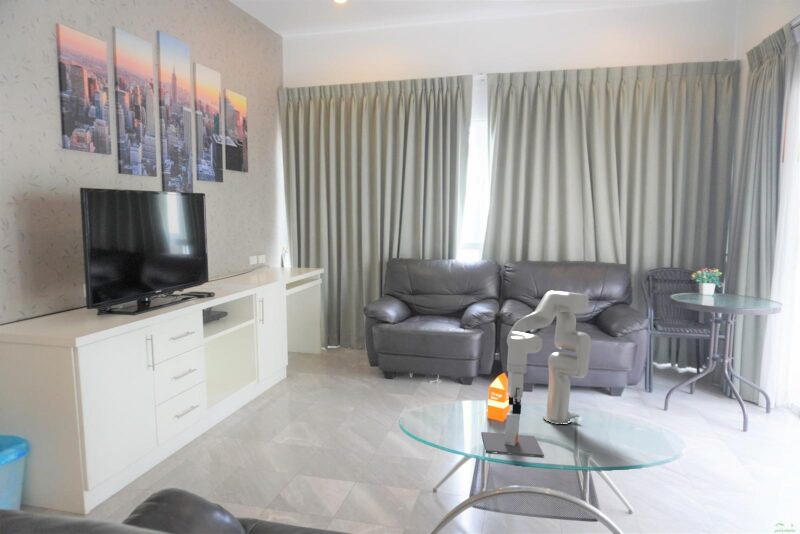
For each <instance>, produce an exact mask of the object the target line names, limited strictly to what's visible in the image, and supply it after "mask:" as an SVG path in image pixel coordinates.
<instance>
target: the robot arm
mask: <svg viewBox="0 0 800 534" xmlns="http://www.w3.org/2000/svg"><path fill="white" fill-rule="evenodd" d="M589 306H590V301H589V298H588V296H587V295H586V294H585V293H580V292H570V291H564V290H549V291H547V292H546V293H544V295H543V297H542V298H541V300H540V301H539V303H538V305H537V306H536V307H535V309H534V311H533V312H532V313H530V314H527V315H525V316H524V317H522V318H520V319H519V320H517V321H516V322H515V323H514V325H512V327H511V329H510V330H509V333H508V335H507V336H506V337H507V338H506V344H507V364H506V370H507V374H508V375H507V379H508V381H507V392H508V394H509V402H508V404H509V405H510V406H512V410H511V411H512V413H513V414H520V415H521V413H522V398H523V397H524V396H523V394H524V393H523V392H524V378H525V377H524V374H526V373H527V365H528V364H527V363H528V354H536V353H538V352H540V351H541V350H542V348H543V346H544V343H543V339H542V338H541V336H539V335H536V334H533V333H527V332H528V331H532V330H536V329H541V328H542V329H543V328H546V327H547V328H548V327H549V326H551V324H552V323H553V321H554V320H555V317H556V323H555V324H556V325H555V332H554V340H553V341H554V346H555V348H556V349H559V350H561V351H562V350H563V351H566V352H560V351H555V352H552V353H551V354H550V355H549V357H548V359H547V365H548V389H547V400H546V401H547V402H546V413H543V415H542V419H543V418H544V419H545V420H546V421H545V420H544V419H543V420H544V421H545V422H547V421H549V422H553V423H558V424H561V423H562V424H563V423H568V421H570V419H571V420H572V419H574V418H575V417H579V418H580V415H579V414H575V413H574V412H569V411H570V409H569V408H570V395H571V393H570V392H571V381H570V378H569V377H573V378H576V379H577V378H578V379H584V378H585V377H586V376H587V374H588V371H589V365H590V356H591V349H592V341H591V340H592V339H591V337H590V335H589V334H588V333H586V332H583V331H578V330H576V329H577V328H576V326H577V317H576V315H575V314H583V313H585V312H586V311H587V310H588V309H589ZM567 351H568V352H572V353H575V354H576V355H575V354H571V353H567ZM549 422H548V423H549Z"/></svg>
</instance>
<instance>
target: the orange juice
mask: <svg viewBox="0 0 800 534" xmlns="http://www.w3.org/2000/svg"><path fill="white" fill-rule="evenodd" d="M507 381H508V376H507V375H506V373H505V372H503V373H501V374H499V375H498V376H497V377H496V378H495V379H493V381H492V383H490V385H489V386H488V400H487V413H486V415H487V416H486V418H487V417H488V418H487V419H490V420H494V421H495V420H496V421H499V422H504V421H506V415H507V414H508V412H510V411H511V409H510V408H511V405H509V404H508V402H509V394H508V392H507Z"/></svg>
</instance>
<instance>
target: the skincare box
mask: <svg viewBox="0 0 800 534" xmlns="http://www.w3.org/2000/svg"><path fill="white" fill-rule="evenodd" d="M520 416H521V414H513V413H512V410H510V412H508V414H507V415H506V419H505V428H504V429H505V430H504V434H505V440H504V443H505V444H508V445H512V446H515V444H516V443H517V441H518V435H519V432H520V420H521V419H520V418H521V417H520Z"/></svg>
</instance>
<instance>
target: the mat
mask: <svg viewBox="0 0 800 534" xmlns="http://www.w3.org/2000/svg"><path fill="white" fill-rule="evenodd" d="M480 435H481V439H482V442H483V447H484V451H485V450H486V451H485V453H489V452H497V453H496V454H501V453H511V454H510V455H514V454H522V455H521V456H526V455H535V456H534V457H539V456H544V457H545V455H544V452H543V450H542V448H541V447H540V444H539V442H538V440H537V438H536V436H535V435H527V434H526V435H523V434H518V441H517V443H516V444H515V446H512V445H508V444H505V443H504V440H505V433H502V432H501V433H500V432H488V431H486V432H485V431H481V433H480Z"/></svg>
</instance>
